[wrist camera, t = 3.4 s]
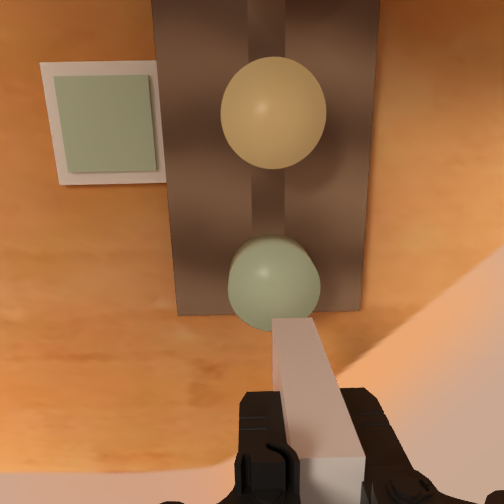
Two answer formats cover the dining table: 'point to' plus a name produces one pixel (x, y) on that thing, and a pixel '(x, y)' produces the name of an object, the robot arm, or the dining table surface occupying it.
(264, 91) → the button ochre
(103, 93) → the swatch
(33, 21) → the dining table surface
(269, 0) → the board
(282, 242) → the button green
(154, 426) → the dining table surface
